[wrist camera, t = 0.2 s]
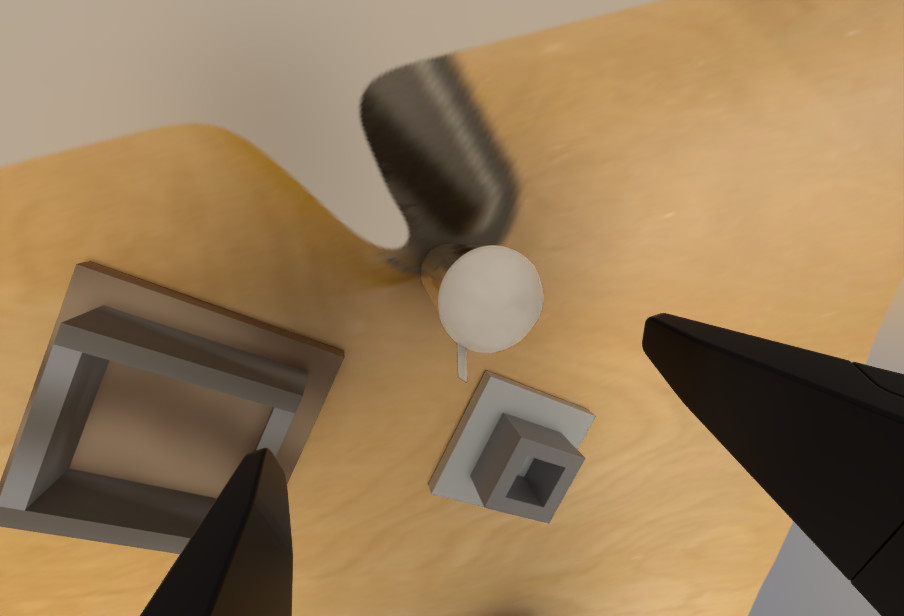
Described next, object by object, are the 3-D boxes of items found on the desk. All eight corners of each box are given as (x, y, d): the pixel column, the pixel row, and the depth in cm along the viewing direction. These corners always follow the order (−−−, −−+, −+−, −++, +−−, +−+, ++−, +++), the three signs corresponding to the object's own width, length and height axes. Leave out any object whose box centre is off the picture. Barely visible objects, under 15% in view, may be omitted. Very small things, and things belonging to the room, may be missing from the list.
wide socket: (263, 531, 25) (248, 588, 21) (10, 485, 21) (-64, 546, 17) (344, 351, 24) (344, 378, 20) (89, 261, 19) (27, 274, 16)
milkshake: (386, 292, 23) (412, 351, 14) (437, 216, 23) (500, 225, 14) (446, 331, 25) (506, 407, 16) (495, 260, 25) (587, 295, 15)
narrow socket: (532, 510, 30) (558, 554, 27) (428, 484, 27) (441, 528, 24) (587, 409, 29) (623, 439, 26) (485, 370, 26) (508, 397, 23)
